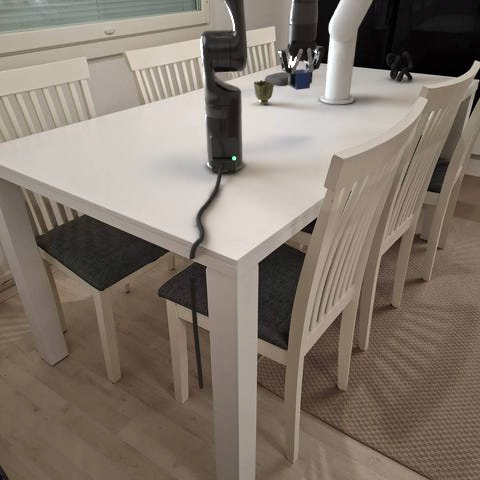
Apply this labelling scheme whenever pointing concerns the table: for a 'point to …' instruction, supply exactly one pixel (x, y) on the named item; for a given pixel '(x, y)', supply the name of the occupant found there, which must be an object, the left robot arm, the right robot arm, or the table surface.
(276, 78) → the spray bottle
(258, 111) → the table surface
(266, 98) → the cup
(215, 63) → the left robot arm
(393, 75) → the squiggle
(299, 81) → the brick
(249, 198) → the table surface
